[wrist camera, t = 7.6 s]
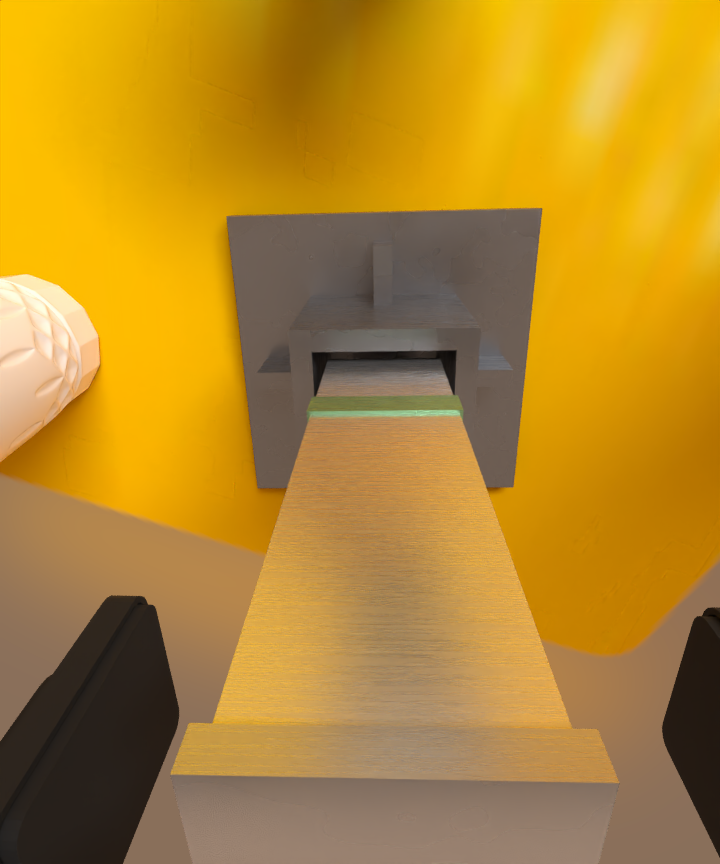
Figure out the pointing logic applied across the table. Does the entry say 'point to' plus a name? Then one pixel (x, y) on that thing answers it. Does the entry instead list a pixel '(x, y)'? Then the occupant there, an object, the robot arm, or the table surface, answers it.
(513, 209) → the stand base
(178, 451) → the table surface
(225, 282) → the table surface
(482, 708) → the post
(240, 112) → the table surface
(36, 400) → the white cup
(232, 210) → the table surface
